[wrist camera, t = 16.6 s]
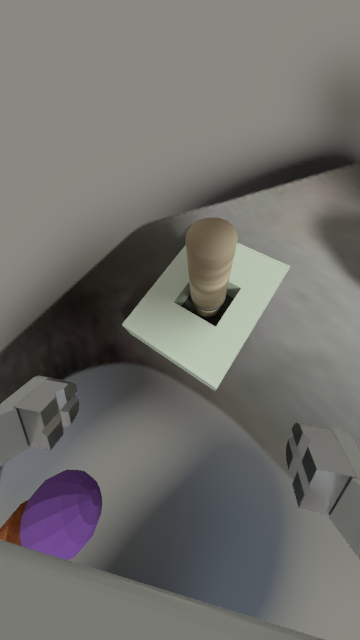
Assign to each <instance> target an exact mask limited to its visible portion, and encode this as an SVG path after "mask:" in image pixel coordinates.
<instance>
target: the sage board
mask: <svg viewBox="0 0 360 640" xmlns="http://www.w3.org/2000/svg"><path fill="white" fill-rule="evenodd" d="M289 268H290V266H288V265H286V264H284V263H282V262H279V261H277V260H275V259H273V258H270V257H268V256H266V255H264V254H262V253H259V252H257V251H255V250H253V249H250V248H248V247H246V246H244V245H241V244H239V243H237V245H236V249H235V254H234V259H233V263H232V268H231V273H230V277H229V282H228V287H227V291H226V295H228V296H230V297H232V298H234V300H233V301H232V303H231V304H230V306H229V307H228V309H227V310H226V312H225V313H224V315H223V316H222V318H221V319H220V321H219V322H218V324H217V325H216V326H214V325H212V324H210V323H209V322H207V321H205V320H204V319H202V318H200V317H198V316H197V315H195V314H193V313H192V312H190V311H188V310H186V309H185V308H183V307H181V306H182V305H183V303H184V302H185V301H186V299H187V298H188V297H189V295H190V282H189V271H188V261H187V250H186V245H185V246H184V247H183V249H182V250H181V251H180V252H179V254H178V255H177V256H176V257H175V259H174V260H173V261H172V262H171V264H170V265H169V266H168V267H167V269H166V270H165V271H164V272H163V274H162V275H161V276H160V277H159V279H158V280H157V281H156V282H155V284H154V285H153V286H152V287H151V289H150V290H149V291H148V292H147V294H146V295H145V296H144V297H143V299H142V300H141V301H140V302H139V304H138V305H137V306H136V307H135V309H134V310H133V311H132V312H131V314H130V315H129V316H128V317H127V319H126V320H125V321H124V322H123V324H122V326H123V327H124V328H125V329H126V330H127V331H128V332H129V333H130V334H132V335H133V336H135V337H136V338H138V339H139V340H141V341H142V342H143V343H145V344H146V345H148V346H149V347H151V348H152V349H154V350H155V351H157V352H158V353H160V354H161V355H163V356H164V357H166V358H167V359H168V360H170V361H171V362H173V363H174V364H176V365H177V366H179V367H180V368H182V369H183V370H185V371H186V372H188V373H189V374H191V375H192V376H193V377H195V378H196V379H198V380H199V381H201V382H202V383H204V384H205V385H207V386H208V387H210V388H211V389H213V390H214V391H215V390H216V389H217V388H218V386H219V384H220V383H221V381H222V379H223V378H224V376H225V374H226V373H227V371H228V369H229V368H230V366H231V364H232V363H233V361H234V359H235V358H236V356H237V354H238V353H239V351H240V349H241V348H242V346H243V344H244V343H245V341H246V339H247V338H248V336H249V334H250V333H251V331H252V329H253V328H254V326H255V324H256V323H257V321H258V319H259V318H260V316H261V314H262V313H263V311H264V309H265V308H266V306H267V305H268V303H269V301H270V300H271V298H272V296H273V295H274V293H275V291H276V290H277V288H278V286H279V285H280V283H281V281H282V280H283V278H284V276H285V275H286V273H287V271H288V270H289Z"/></svg>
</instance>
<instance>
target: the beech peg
mask: <svg viewBox="0 0 360 640" xmlns="http://www.w3.org/2000/svg"><path fill="white" fill-rule="evenodd" d="M237 240H238V235H237V232H236V229H235V228H234V227H233V225H232V224H230V223H229V222H227V221H225V220H223V219H220V218H205V219H201V220H199V221H197V222H195V223H194V224H193V225H192V226H191V227H190V228H189V229H188V231H187V233H186V250H187V261H188V271H189V282H190V297H191V301H192V303H193V305H194V307H195V310H196V312H197V313H198V314H199V315H200V316H201V317H204V318H211V317H213V316H215V315H216V314H217V313H218V311H219V309H220V308H221V306H222V305H223V303H224V301H225V298H226V291H227V287H228V282H229V277H230V273H231V268H232V263H233V259H234V254H235V249H236V245H237Z"/></svg>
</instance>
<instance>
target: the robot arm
mask: <svg viewBox="0 0 360 640" xmlns="http://www.w3.org/2000/svg"><path fill="white" fill-rule="evenodd" d="M76 392H77V388H76V384H75V383H72V382H68V381H63V380H59V379H54V378H48V377H43V376H37V377H34V378H33V379H31V380H30V381H29V382H28V383H26V384H25V385H24V386H23V387H21V388H20V389H19V390H17V391H16V392H15V393H14V394H12V395H11V396H10V397H9V398H7V399H6V400H5V401H4V402H2V403H1V404H0V466H2V465H3V464H5V463H6V462H8V461H9V460H11V459H12V458H14V457H15V456H17V455H18V454H20V453H21V452H23V451H24V450H26V449H28V448H29V446H31V447H36V448H41V449H46V450H51V449H52V448H53V447H54V446H55V444H56V443H57V442H58V440H59V439H60V438H61V437H62V435H63V428H65V427H67V426H69V425H70V424H72V422H73V421H74V419H75V418H76V416H77V413H78V411H79V399H78V398H77V397H76V396H75V393H76ZM292 433H293V437H291V438H289V439H288V441H287V444H286V462H287V466H288V470H289V471H290V472H291V473H292V475H293V476H294V477H295V478H294V481H293V483H292V486H293V489H294V493H295V496H296V500H297V504H298V508H301V509H305V510H309V511H312V512H316V513H320V514H324V515H328V516H329V518H330V520H331V521H332V522H333V524H334V525H335V526H336V528H337V529H338V531H339V532H340V533H341V534H342V536H343V537H344V539H345V540H346V541H347V543H348V544H349V545H350V547H351V548H352V549H353V551H354V552H355V554H356V555H357V556H358V558H359V559H360V450H359V448H358V447H357V445H356V443H355V442H354V440H353V438H352V437H351V435H350V434H349V433H348V432H347V431H346V430H340V429H334V428H327V427H322V426H316V425H310V424H304V423H298V422H296V423H295V424H294V425H293V427H292ZM0 640H324V639H321V638H318V637H314V636H311V635H308V634H305V633H301V632H298V631H295V630H292V629H288V628H285V627H282V626H279V625H275V624H272V623H269V622H266V621H262V620H259V619H256V618H253V617H250V616H246V615H243V614H240V613H236V612H233V611H230V610H226V609H224V608H220V607H217V606H213V605H211V604H207V603H204V602H200V601H198V600H195V599H191V598H188V597H185V596H181V595H178V594H175V593H172V592H169V591H165V590H162V589H159V588H156V587H152V586H149V585H146V584H143V583H139V582H136V581H133V580H130V579H127V578H123V577H120V576H117V575H114V574H110V573H107V572H104V571H101V570H97V569H94V568H91V567H88V566H84V565H81V564H78V563H75V562H72V561H68V560H65V559H62V558H59V557H55V556H52V555H49V554H46V553H42V552H39V551H36V550H33V549H29V548H26V547H23V546H20V545H16V544H13V543H10V542H7V541H3V540H0Z"/></svg>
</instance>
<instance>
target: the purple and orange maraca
mask: <svg viewBox="0 0 360 640" xmlns="http://www.w3.org/2000/svg"><path fill="white" fill-rule="evenodd" d="M101 509H102V496H101V492H100V488H99V486H98V484H97V482H96V481H95V480H94V479H93V478H92V477H91V476H89V475H88V474H87V473H86V472H84V471H79V470H66V471H63V472H61V473H59V474H57V475H55V476H53V477H51V478H49V479H47V480H45V482H44V483H43V484H42V485H41V486H40V487H39V488H38V489H37V491H36V492H35V493H34V494H33V495H32V497H31V498H30V499H29V500H28V501H26V502H24V503H22V504H21V505H20V506H19V507H18V508H17V510H16V511H15V512H14V513H13V514H12V515H11V517H10V518H9V519H8V520H7V521H6V523H5V524H4V525H3V526H2V527H1V529H0V540H3V541H7V542H10V543H13V544H16V545H20V546H23V547H26V548H29V549H33V550H36V551H39V552H42V553H46V554H49V555H52V556H55V557H59V558H62V559H65V560H69V559H71V558H73V557H75V556H76V554H77V553H78V552H79V551H80V550H81V549H82V548H83V547H84V545H85V544H86V543H87V542H88V540H89V539H90V538H91V537H92V536H93V533H94V531H95V528H96V526H97V523H98V520H99V517H100V515H101Z"/></svg>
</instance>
